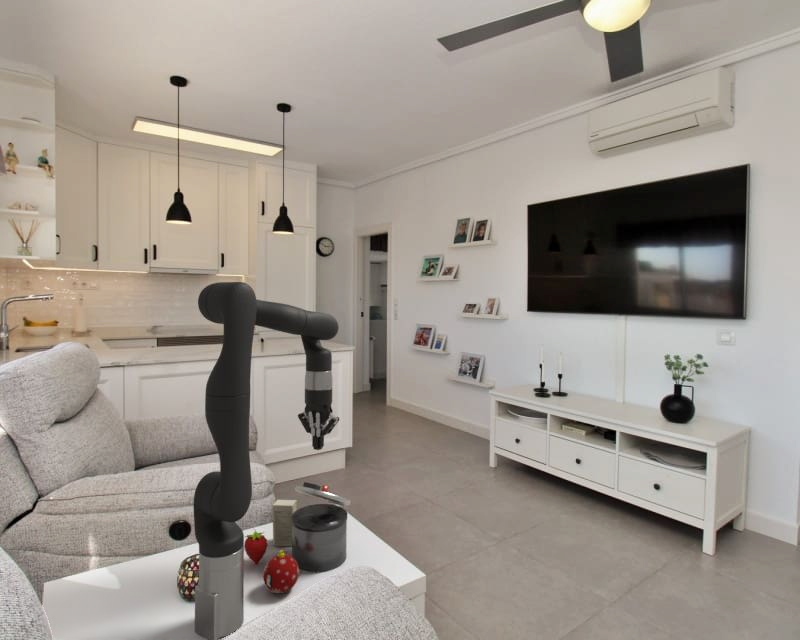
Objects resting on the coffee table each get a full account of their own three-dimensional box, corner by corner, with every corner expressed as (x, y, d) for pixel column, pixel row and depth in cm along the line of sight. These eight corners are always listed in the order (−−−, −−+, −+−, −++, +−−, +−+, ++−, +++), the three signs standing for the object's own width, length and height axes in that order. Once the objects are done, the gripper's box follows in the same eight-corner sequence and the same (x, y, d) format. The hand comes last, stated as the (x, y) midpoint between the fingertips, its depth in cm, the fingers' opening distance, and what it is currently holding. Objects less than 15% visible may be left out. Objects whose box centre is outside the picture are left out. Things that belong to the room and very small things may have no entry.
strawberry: (248, 574, 125) (248, 536, 125) (241, 561, 131) (241, 525, 131) (271, 567, 128) (271, 531, 128) (262, 555, 135) (262, 520, 134)
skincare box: (297, 539, 144) (298, 499, 143) (293, 547, 139) (293, 505, 139) (277, 538, 144) (277, 498, 144) (271, 545, 140) (272, 504, 140)
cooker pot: (325, 578, 123) (326, 532, 123) (279, 563, 130) (279, 520, 130) (357, 551, 137) (357, 510, 137) (314, 539, 144) (314, 500, 144)
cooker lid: (331, 498, 124) (335, 485, 126) (283, 487, 131) (287, 475, 133) (360, 509, 137) (363, 497, 139) (315, 499, 145) (318, 487, 146)
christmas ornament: (306, 587, 119) (306, 548, 119) (280, 605, 112) (280, 563, 112) (281, 576, 124) (281, 538, 124) (255, 593, 117) (255, 553, 116)
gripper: (290, 386, 131) (290, 449, 132) (330, 390, 125) (329, 456, 126) (307, 382, 138) (307, 442, 138) (346, 386, 132) (345, 449, 132)
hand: (318, 449), depth 132 cm, fingers closed
